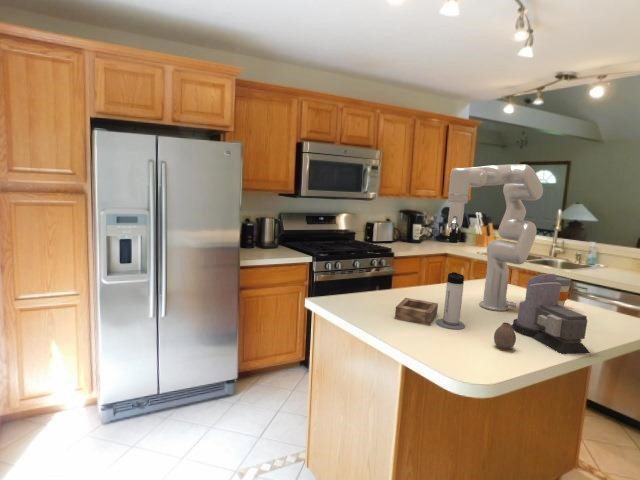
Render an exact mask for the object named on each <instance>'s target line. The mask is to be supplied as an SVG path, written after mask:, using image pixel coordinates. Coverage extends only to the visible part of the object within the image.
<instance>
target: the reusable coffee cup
mask: <svg viewBox="0 0 640 480" xmlns="http://www.w3.org/2000/svg"><path fill="white" fill-rule="evenodd" d="M556 275H557V276H556V282H557V283H560V284H561V289H560V296H559V303H558V305H560V306H562V307H564V306H565V303H566V301H567V300H568V296H569V293H570V291H569V290H570V287H571V286H572V279H571V278H569V277H568V276H563V275H558V274H556Z"/></svg>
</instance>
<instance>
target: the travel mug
mask: <svg viewBox="0 0 640 480" xmlns="http://www.w3.org/2000/svg"><path fill="white" fill-rule="evenodd" d="M446 280H447V281H446V287H445V288H446V289H445V297H444V298H445V299H444V308H443V318H442V319H443V322H444V323H445V324H448V325H453V326H456V325H459V322H461V312H462V311H461V310H462V302H463V292H464V281H465V275H463V274H461V273H459V272H456V271H455V272H453V271H451V272H449V273H447V279H446Z"/></svg>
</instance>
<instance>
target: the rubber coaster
mask: <svg viewBox="0 0 640 480" xmlns="http://www.w3.org/2000/svg"><path fill="white" fill-rule="evenodd" d="M435 324H436V325H437V326H439V327H440V328H444V329H448V330H456V331H457V330H459V331H460V330H463V329H465V327H466V324H465V323H464V322H463V321H460V322H459V325H456V326H453V325H448V324H445V323H444V322H443V318H438V319H436V321H435Z"/></svg>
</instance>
